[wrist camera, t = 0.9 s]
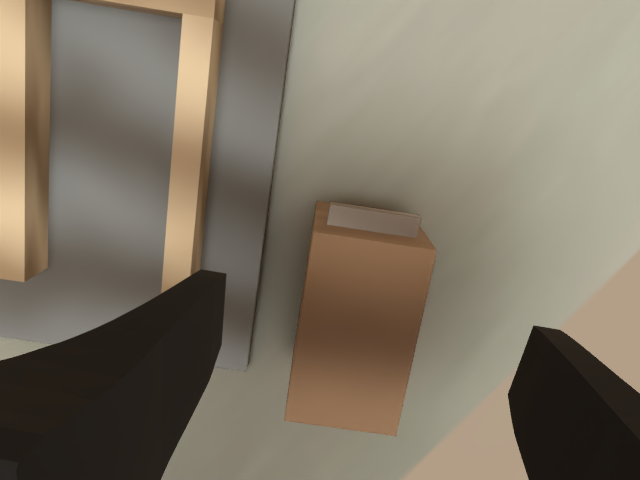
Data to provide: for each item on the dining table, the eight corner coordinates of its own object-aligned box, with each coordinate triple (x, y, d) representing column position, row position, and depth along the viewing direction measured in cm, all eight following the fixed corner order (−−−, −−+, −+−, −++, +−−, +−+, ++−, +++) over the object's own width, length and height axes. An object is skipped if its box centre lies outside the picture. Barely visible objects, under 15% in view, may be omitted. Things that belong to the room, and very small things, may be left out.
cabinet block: (381, 363, 27) (396, 436, 21) (293, 351, 27) (284, 420, 21) (414, 198, 25) (441, 229, 19) (319, 184, 25) (316, 210, 19)
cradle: (248, 363, 27) (239, 393, 24) (-25, 324, 27) (-64, 350, 24) (303, -64, 22) (300, -86, 19) (-35, -120, 21) (-87, -151, 19)
